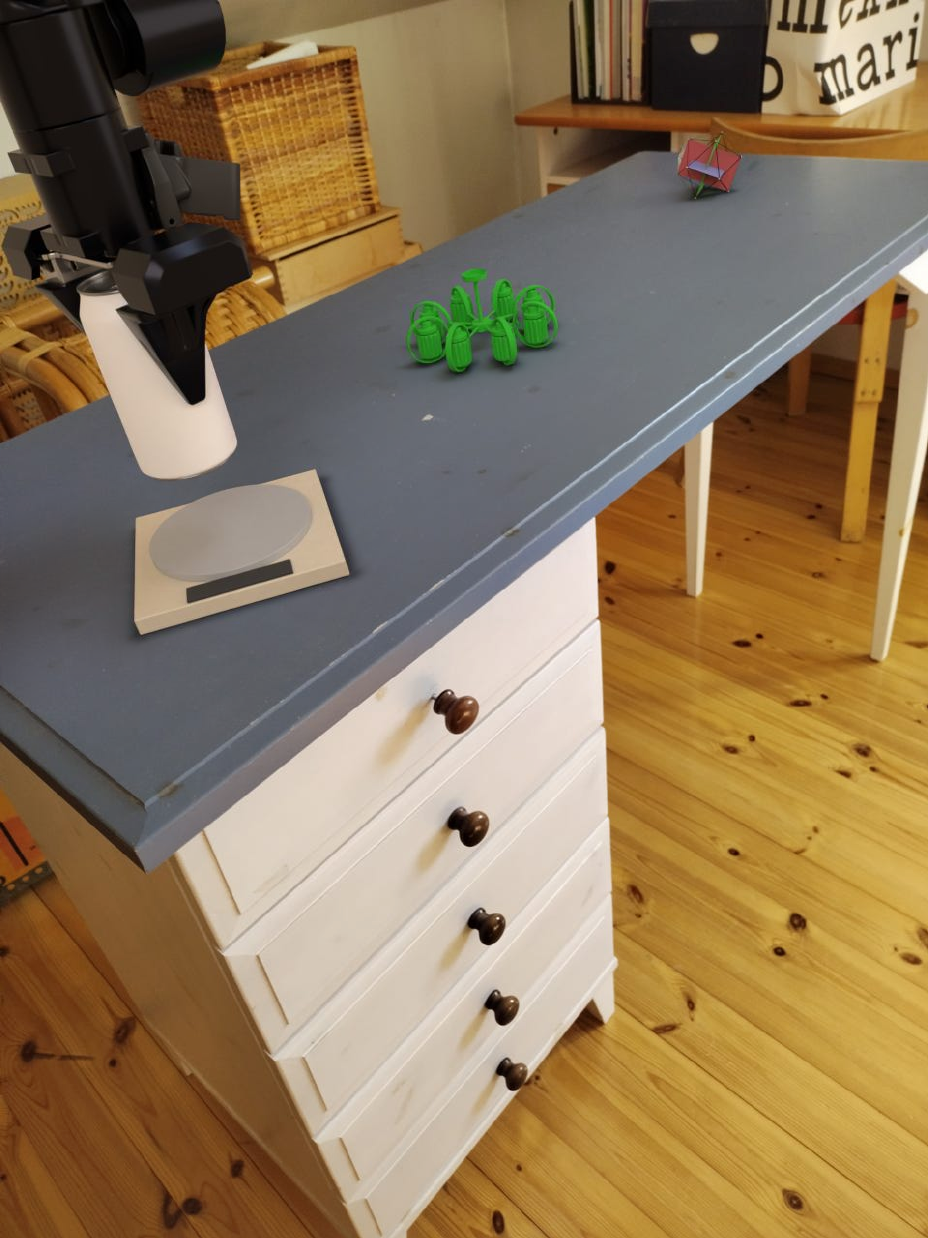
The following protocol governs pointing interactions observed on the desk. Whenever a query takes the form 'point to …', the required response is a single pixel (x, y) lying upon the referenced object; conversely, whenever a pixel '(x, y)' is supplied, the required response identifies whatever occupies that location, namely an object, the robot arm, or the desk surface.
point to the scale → (233, 550)
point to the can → (153, 394)
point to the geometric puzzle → (707, 164)
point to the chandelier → (481, 323)
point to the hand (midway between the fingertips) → (168, 391)
